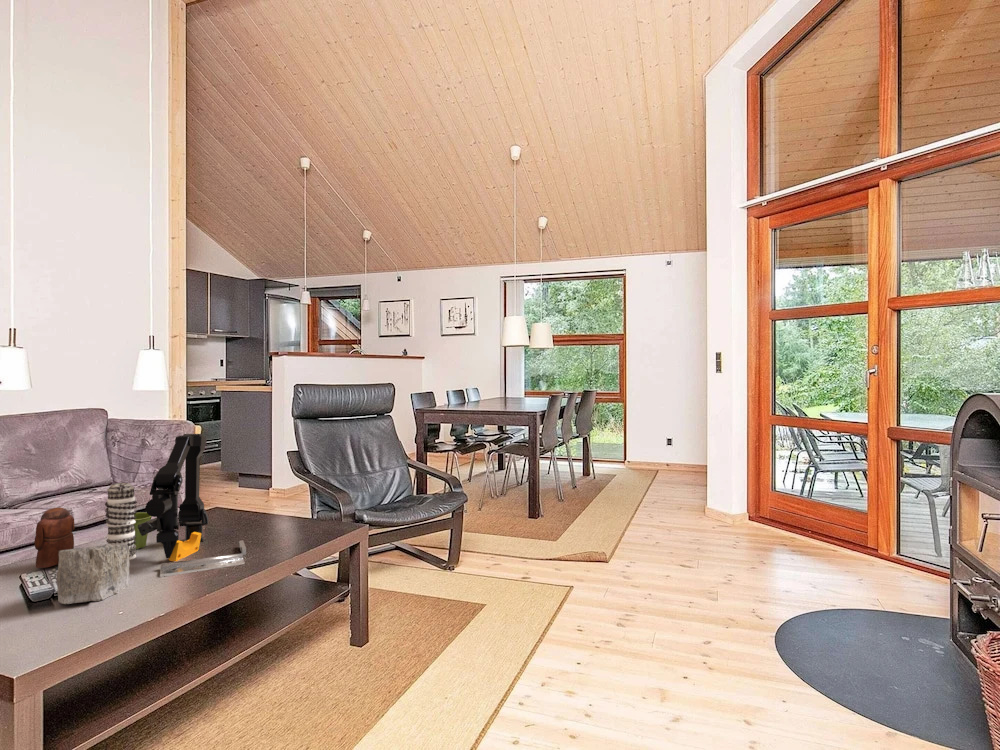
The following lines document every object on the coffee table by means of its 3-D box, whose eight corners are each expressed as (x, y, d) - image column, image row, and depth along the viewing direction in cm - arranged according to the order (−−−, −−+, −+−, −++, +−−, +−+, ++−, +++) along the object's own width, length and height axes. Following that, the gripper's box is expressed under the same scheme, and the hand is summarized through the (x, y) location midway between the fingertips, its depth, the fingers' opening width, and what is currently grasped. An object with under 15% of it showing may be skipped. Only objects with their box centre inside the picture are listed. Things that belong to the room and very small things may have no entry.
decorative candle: (118, 563, 200) (118, 487, 200) (98, 561, 203) (98, 485, 203) (143, 556, 208) (143, 482, 208) (123, 553, 212) (123, 480, 211)
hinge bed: (161, 558, 205) (161, 550, 205) (243, 548, 217) (243, 540, 217) (159, 577, 187) (159, 567, 187) (248, 564, 199) (248, 555, 199)
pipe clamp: (187, 548, 214) (190, 530, 214) (198, 551, 214) (201, 533, 213) (163, 558, 202) (166, 539, 202) (175, 562, 202) (178, 542, 202)
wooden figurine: (58, 557, 207) (58, 504, 207) (76, 557, 206) (76, 504, 206) (29, 568, 195) (29, 512, 195) (48, 569, 195) (48, 512, 195)
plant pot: (118, 554, 210) (118, 521, 210) (111, 547, 219) (111, 515, 219) (156, 548, 218) (156, 516, 218) (149, 541, 227) (149, 510, 227)
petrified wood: (120, 578, 186) (119, 528, 186) (143, 590, 175) (142, 538, 175) (45, 595, 172) (45, 542, 172) (65, 610, 161) (65, 553, 161)
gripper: (141, 506, 206) (141, 553, 206) (137, 518, 190) (137, 568, 190) (178, 503, 212) (178, 548, 212) (178, 514, 195) (178, 563, 195)
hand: (168, 557), depth 202 cm, fingers closed on pipe clamp, 2 cm apart
